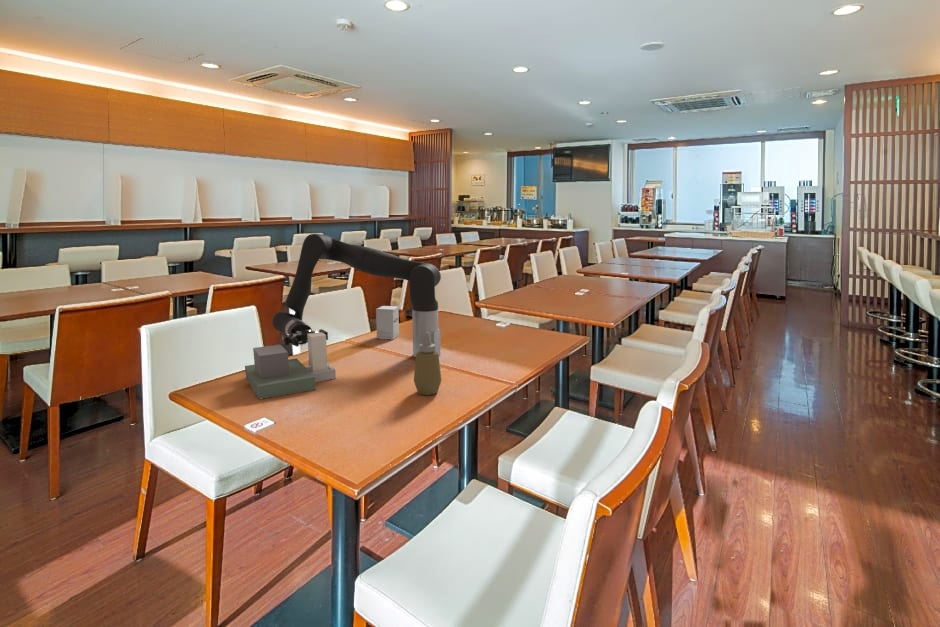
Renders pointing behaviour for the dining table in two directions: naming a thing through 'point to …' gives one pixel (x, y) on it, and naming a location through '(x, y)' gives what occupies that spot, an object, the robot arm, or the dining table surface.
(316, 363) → the tall white pillar block
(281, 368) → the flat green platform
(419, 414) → the dining table surface
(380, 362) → the dining table surface
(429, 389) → the squeeze bottle
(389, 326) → the supplement box
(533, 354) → the dining table surface
